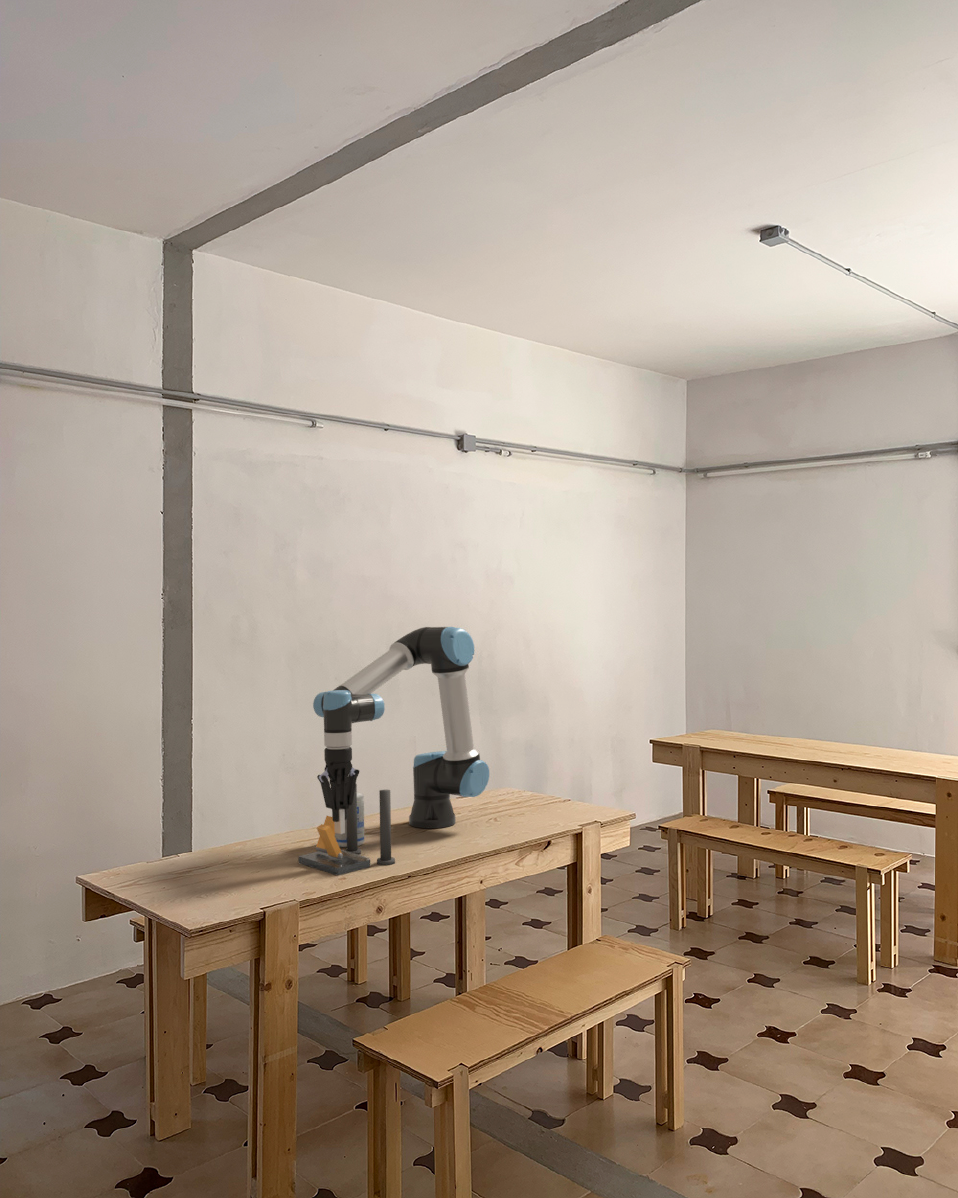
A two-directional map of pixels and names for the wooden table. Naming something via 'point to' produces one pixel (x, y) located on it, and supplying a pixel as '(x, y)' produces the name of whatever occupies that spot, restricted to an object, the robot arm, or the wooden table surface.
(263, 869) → the wooden table surface
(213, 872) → the wooden table surface
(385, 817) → the post
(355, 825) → the post
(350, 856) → the panel plate
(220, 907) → the wooden table surface
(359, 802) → the supplement tub
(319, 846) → the orange flat block
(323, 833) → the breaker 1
